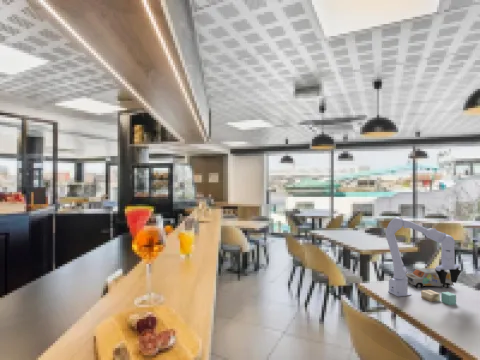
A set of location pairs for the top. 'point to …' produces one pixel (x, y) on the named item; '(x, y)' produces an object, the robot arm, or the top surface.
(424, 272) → the toy car
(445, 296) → the teal block
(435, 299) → the beech block
